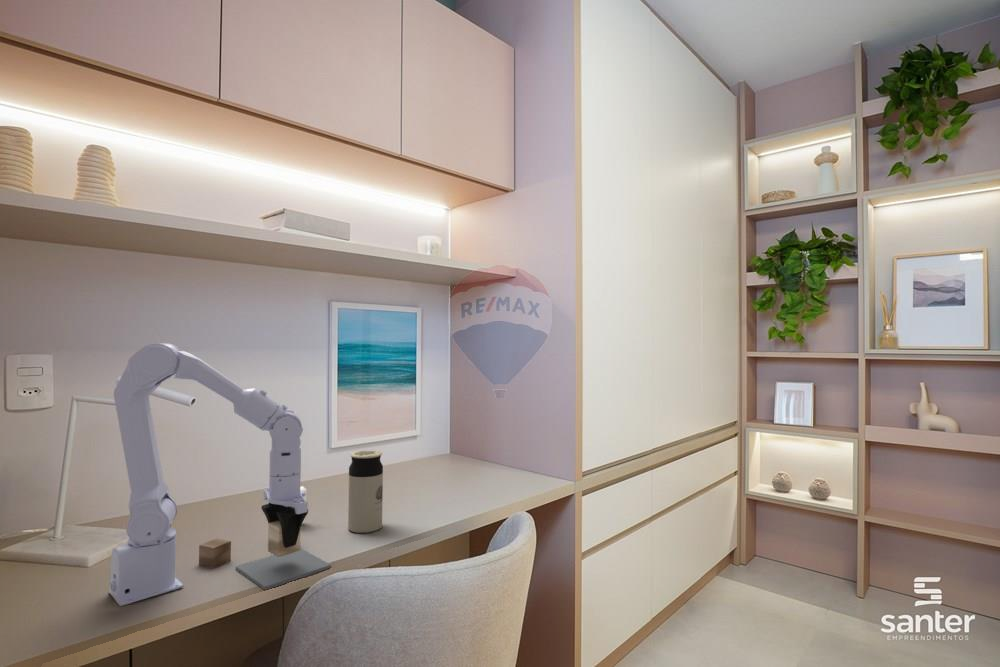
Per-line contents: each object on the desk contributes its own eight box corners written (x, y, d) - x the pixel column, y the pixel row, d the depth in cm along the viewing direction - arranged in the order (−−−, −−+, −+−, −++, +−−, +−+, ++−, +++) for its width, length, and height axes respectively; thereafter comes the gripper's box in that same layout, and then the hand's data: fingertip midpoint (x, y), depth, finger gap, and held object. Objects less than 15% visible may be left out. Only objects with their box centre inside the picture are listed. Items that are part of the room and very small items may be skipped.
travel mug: (341, 530, 123) (342, 454, 124) (362, 520, 130) (363, 448, 131) (368, 536, 120) (369, 457, 120) (388, 525, 127) (389, 451, 128)
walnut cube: (213, 568, 102) (213, 548, 102) (198, 565, 103) (199, 545, 104) (230, 560, 106) (231, 541, 106) (216, 557, 107) (216, 538, 107)
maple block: (278, 557, 99) (278, 528, 99) (268, 551, 102) (268, 523, 102) (300, 550, 102) (300, 522, 102) (289, 545, 105) (290, 517, 105)
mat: (264, 590, 93) (264, 586, 93) (235, 569, 101) (235, 566, 101) (331, 567, 102) (331, 564, 102) (299, 550, 111) (299, 547, 111)
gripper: (322, 475, 101) (321, 546, 100) (287, 464, 110) (286, 528, 110) (287, 482, 95) (286, 557, 95) (253, 470, 105) (252, 537, 105)
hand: (284, 542), depth 102 cm, fingers closed on maple block, 4 cm apart
